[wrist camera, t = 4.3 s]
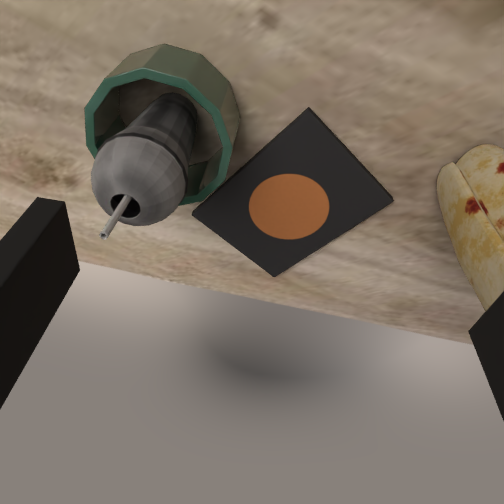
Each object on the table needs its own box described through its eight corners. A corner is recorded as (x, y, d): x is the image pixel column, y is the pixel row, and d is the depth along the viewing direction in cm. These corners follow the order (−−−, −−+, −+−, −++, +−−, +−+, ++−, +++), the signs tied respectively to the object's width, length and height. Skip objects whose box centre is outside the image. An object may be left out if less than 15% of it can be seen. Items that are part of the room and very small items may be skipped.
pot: (159, 12, 33) (135, 32, 28) (264, 116, 38) (260, 148, 34) (88, 114, 40) (59, 144, 35) (186, 191, 45) (173, 226, 40)
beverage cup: (133, 134, 41) (41, 270, 26) (144, 65, 36) (39, 183, 21) (201, 158, 42) (149, 301, 27) (220, 94, 37) (171, 225, 22)
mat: (308, 106, 37) (309, 110, 37) (392, 197, 43) (394, 201, 43) (192, 210, 47) (191, 215, 46) (274, 273, 53) (274, 278, 52)
